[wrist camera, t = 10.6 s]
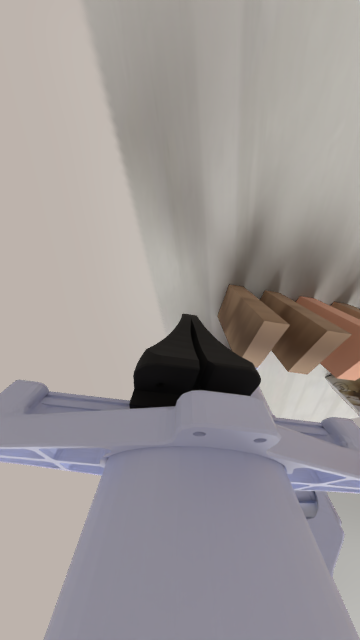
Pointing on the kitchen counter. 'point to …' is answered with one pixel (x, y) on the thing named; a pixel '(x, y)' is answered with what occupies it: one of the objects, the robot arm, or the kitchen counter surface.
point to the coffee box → (347, 391)
